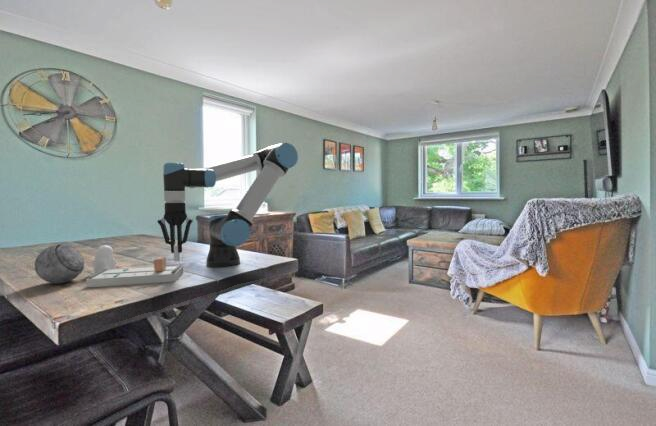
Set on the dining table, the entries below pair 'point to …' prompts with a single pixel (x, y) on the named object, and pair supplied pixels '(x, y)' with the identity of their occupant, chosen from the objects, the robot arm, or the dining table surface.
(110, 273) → the board
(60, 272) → the grey rounded lump
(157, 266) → the fader knob
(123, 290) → the dining table surface
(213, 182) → the robot arm
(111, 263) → the figurine
